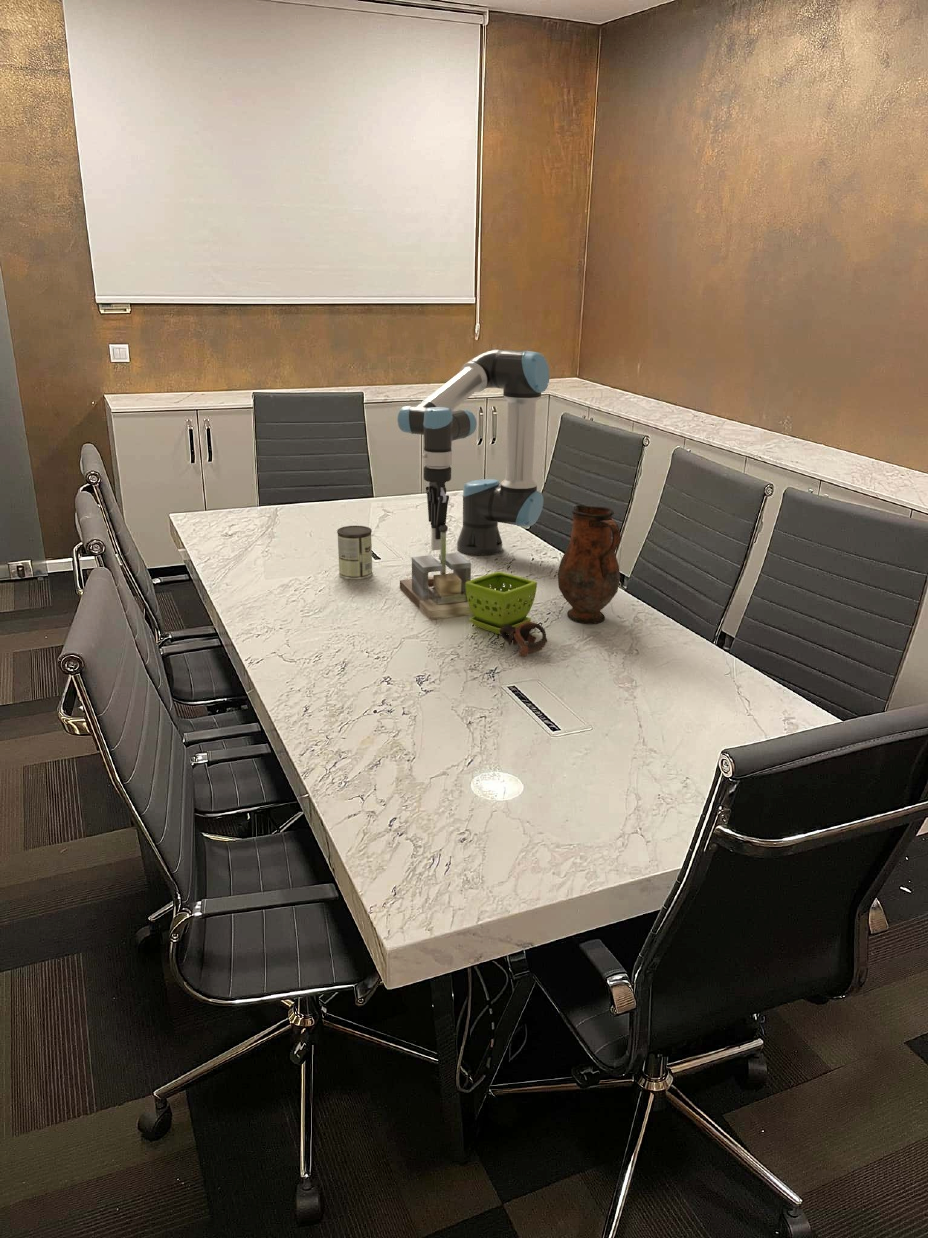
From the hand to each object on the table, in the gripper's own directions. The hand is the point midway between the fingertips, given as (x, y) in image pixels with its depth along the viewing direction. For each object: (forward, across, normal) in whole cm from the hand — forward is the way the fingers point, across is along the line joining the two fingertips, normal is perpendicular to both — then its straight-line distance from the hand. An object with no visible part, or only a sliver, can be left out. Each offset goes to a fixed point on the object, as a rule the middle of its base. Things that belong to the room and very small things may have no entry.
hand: (436, 549), depth 260 cm
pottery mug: (+15, +43, +8) cm, 46 cm away
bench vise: (+14, +3, 0) cm, 15 cm away
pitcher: (+14, +30, +34) cm, 47 cm away
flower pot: (+15, +27, +8) cm, 32 cm away
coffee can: (+15, -27, -17) cm, 35 cm away
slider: (+11, +8, 0) cm, 14 cm away
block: (+12, +8, 0) cm, 14 cm away
